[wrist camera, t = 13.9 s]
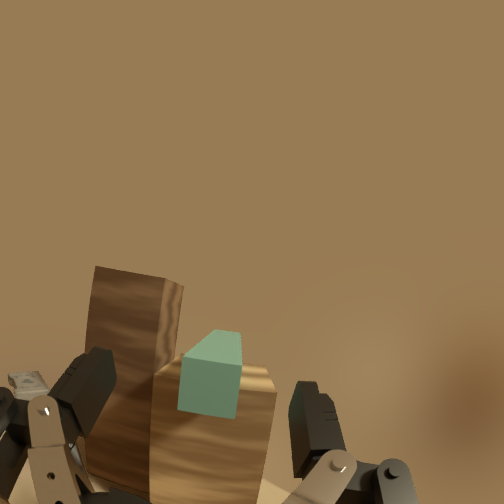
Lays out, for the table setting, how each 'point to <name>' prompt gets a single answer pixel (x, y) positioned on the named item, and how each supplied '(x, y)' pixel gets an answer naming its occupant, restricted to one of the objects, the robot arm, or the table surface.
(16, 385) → the grey speckled block
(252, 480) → the oak block
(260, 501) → the table surface
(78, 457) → the robot arm
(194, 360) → the bar
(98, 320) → the walnut stand
